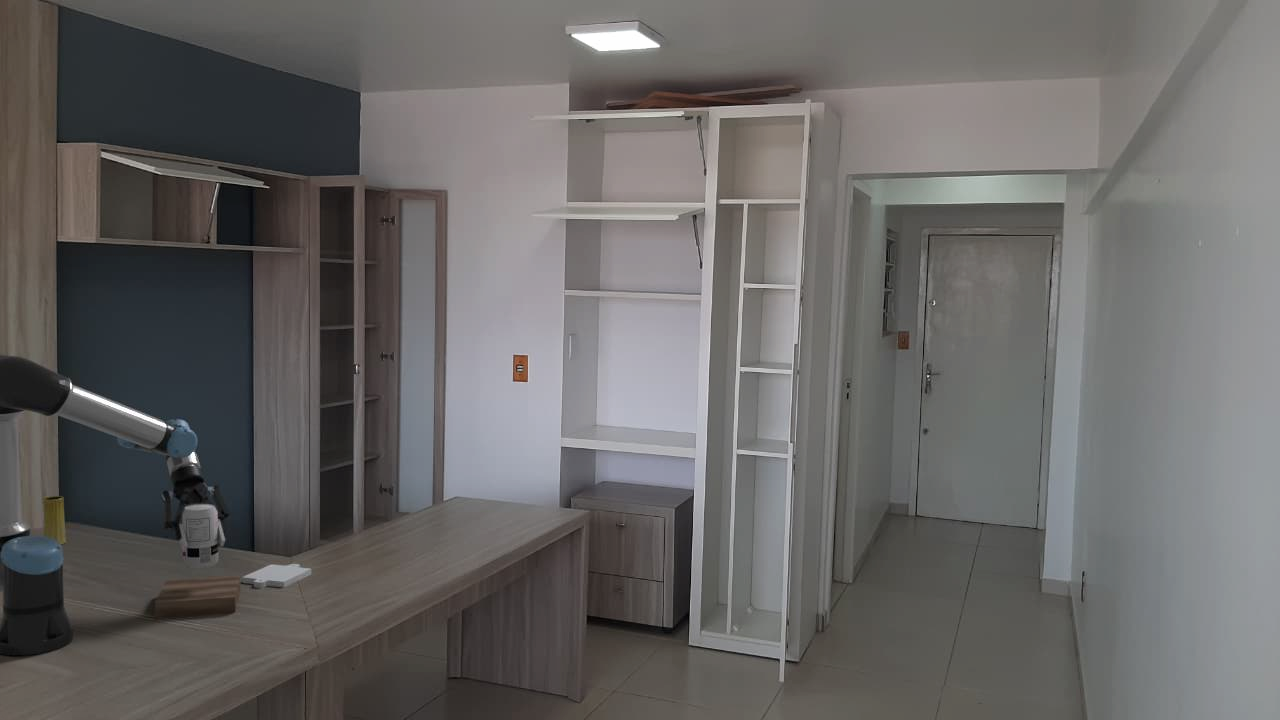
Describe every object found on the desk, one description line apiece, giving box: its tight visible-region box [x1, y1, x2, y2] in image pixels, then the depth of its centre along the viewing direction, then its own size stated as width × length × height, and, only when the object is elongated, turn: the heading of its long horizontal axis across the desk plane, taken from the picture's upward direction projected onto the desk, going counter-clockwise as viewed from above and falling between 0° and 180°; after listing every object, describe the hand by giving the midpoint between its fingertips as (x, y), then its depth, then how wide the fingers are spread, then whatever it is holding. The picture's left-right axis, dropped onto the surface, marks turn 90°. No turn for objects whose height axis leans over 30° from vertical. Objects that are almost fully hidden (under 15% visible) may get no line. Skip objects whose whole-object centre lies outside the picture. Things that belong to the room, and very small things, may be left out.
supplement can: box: [181, 503, 219, 570], centre depth 248 cm, size 8×8×15 cm
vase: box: [43, 495, 67, 545], centre depth 299 cm, size 6×6×14 cm
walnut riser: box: [154, 575, 241, 619], centre depth 248 cm, size 18×18×4 cm
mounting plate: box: [241, 563, 312, 589], centre depth 271 cm, size 18×13×2 cm
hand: (204, 546), depth 245 cm, fingers closed on supplement can, 8 cm apart
